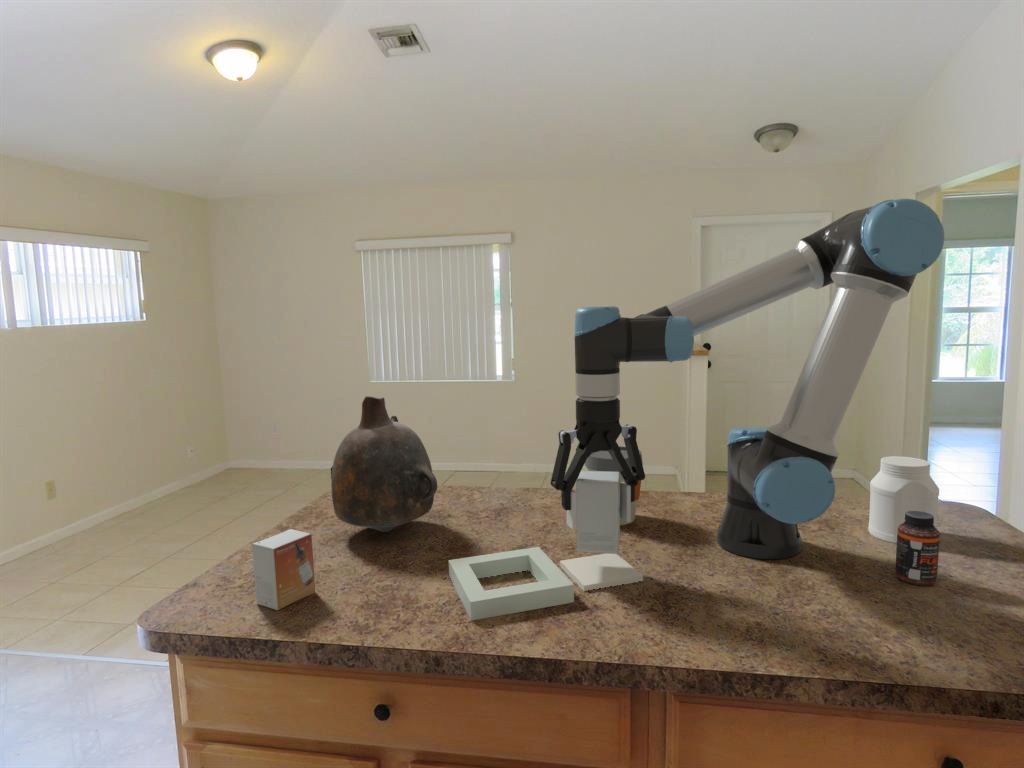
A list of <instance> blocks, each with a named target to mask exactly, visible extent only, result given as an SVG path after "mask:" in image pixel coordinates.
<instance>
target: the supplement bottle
mask: <svg viewBox="0 0 1024 768" xmlns="http://www.w3.org/2000/svg"><path fill="white" fill-rule="evenodd" d="M933 524H934V516H933V515H931V514H929V513H926V512H921V511H907V512H906V513H905V522H904V523H902V524H900V525H899V526H898V532H897V543H896V547H895V548H896V550H895V552H896V553H895V571H894V573H895V576H896V577H897V578H898V579H899V580H901V581H903V582H905V583H908V584H911V585H915V586H922V587H923V586H924V587H925V586H932V585H935V584H936V583H937V580H938V579H937V577H938V569H939V553H940V537H941V536H940V535H941V533H940V531H939V530H938V529H936V528H935V527H934V525H933Z"/></svg>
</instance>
